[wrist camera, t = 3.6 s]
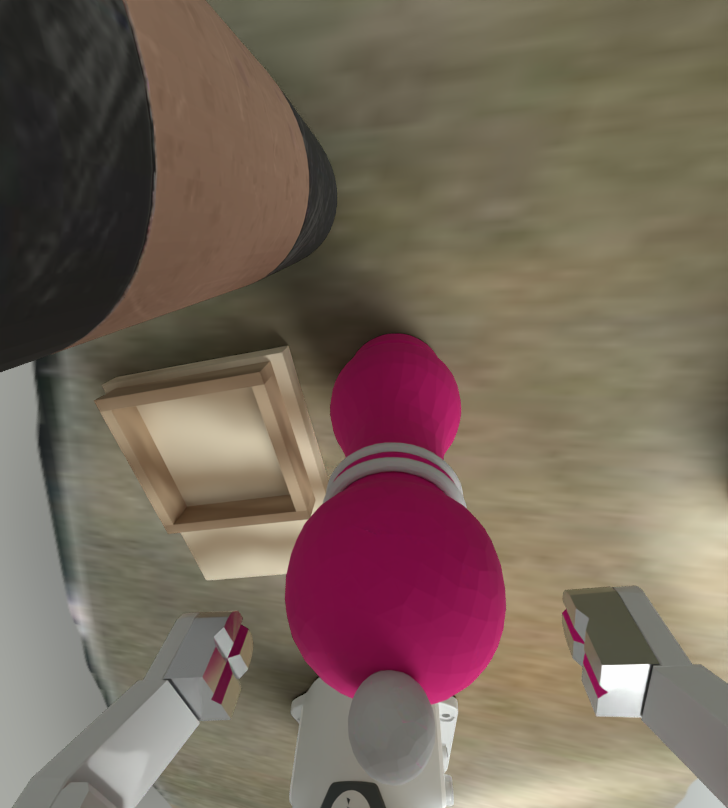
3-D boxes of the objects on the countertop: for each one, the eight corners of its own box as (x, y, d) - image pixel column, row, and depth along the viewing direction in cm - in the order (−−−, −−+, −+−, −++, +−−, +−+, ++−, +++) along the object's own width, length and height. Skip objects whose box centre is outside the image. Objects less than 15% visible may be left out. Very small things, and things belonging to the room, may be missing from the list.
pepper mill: (324, 398, 26) (158, 794, 8) (370, 304, 23) (271, 594, 5) (416, 441, 27) (455, 884, 9) (471, 356, 24) (710, 764, 6)
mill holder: (350, 554, 32) (345, 590, 29) (214, 566, 34) (195, 600, 31) (288, 345, 24) (272, 362, 21) (116, 377, 26) (78, 397, 23)
